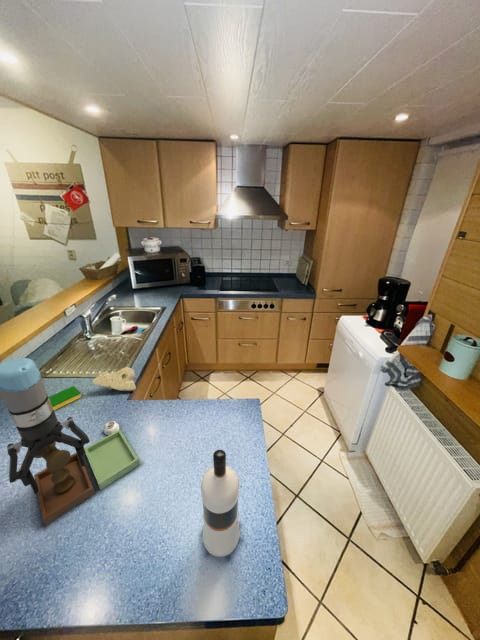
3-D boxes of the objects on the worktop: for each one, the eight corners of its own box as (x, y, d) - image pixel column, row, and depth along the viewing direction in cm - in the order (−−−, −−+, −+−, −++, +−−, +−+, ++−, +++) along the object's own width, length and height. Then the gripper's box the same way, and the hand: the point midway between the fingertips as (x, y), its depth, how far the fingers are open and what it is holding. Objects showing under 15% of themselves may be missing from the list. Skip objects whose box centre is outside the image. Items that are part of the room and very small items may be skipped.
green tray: (85, 454, 83) (83, 448, 82) (121, 434, 90) (120, 429, 89) (100, 490, 72) (98, 484, 71) (139, 464, 80) (138, 459, 79)
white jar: (120, 423, 94) (106, 425, 93) (119, 417, 93) (104, 420, 92) (118, 434, 90) (102, 436, 89) (116, 428, 89) (101, 430, 88)
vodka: (208, 566, 57) (203, 484, 45) (198, 523, 65) (191, 442, 53) (245, 548, 61) (249, 466, 48) (231, 509, 69) (232, 429, 56)
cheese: (144, 384, 118) (123, 360, 119) (144, 381, 112) (122, 356, 113) (115, 408, 110) (92, 383, 111) (113, 407, 104) (90, 380, 104)
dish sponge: (81, 397, 107) (80, 392, 106) (43, 416, 97) (41, 411, 96) (74, 389, 111) (73, 385, 110) (37, 407, 101) (35, 402, 100)
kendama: (66, 468, 77) (47, 421, 69) (84, 485, 73) (66, 436, 64) (45, 485, 73) (21, 436, 64) (62, 504, 68) (39, 454, 60)
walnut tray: (36, 480, 74) (33, 474, 73) (80, 456, 82) (78, 451, 81) (45, 525, 64) (42, 519, 63) (95, 493, 71) (93, 487, 70)
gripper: (-31, 455, 52) (8, 517, 61) (90, 402, 66) (107, 459, 76) (-30, 433, 57) (6, 493, 66) (83, 388, 71) (99, 443, 80)
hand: (60, 475), depth 71 cm, fingers open, 10 cm apart
